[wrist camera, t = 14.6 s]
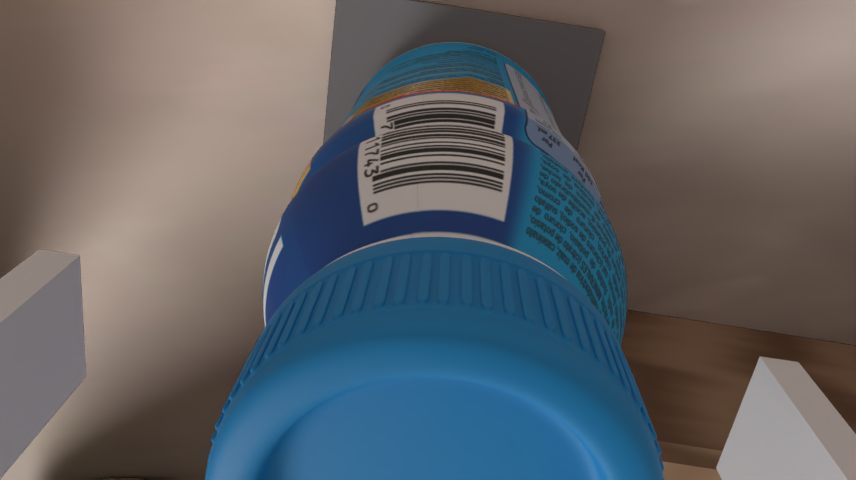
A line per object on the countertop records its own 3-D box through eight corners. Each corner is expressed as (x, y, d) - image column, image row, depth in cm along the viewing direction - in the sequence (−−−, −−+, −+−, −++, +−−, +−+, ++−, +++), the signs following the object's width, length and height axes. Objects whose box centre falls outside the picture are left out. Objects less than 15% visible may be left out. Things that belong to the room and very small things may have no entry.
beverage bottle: (603, 127, 28) (880, 506, 9) (468, 279, 31) (476, 798, 12) (431, -13, 26) (358, 116, 8) (304, 162, 29) (29, 562, 11)
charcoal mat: (317, 230, 31) (314, 235, 30) (340, -12, 27) (337, -11, 26) (546, 266, 31) (547, 271, 30) (602, 29, 27) (605, 32, 26)
